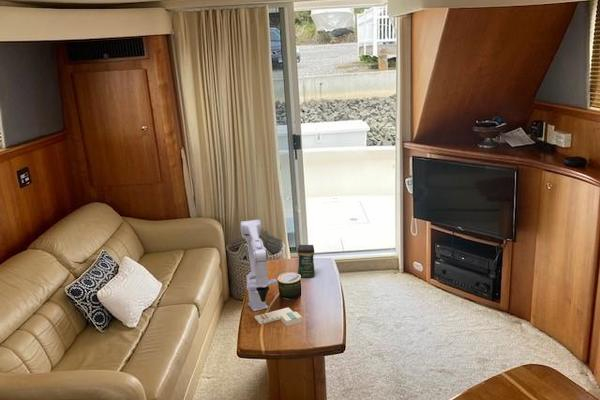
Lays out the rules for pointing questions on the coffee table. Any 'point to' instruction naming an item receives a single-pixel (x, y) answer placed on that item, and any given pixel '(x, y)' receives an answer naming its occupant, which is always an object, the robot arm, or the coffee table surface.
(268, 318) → the board
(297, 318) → the white and teal box
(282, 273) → the coffee table surface
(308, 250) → the coffee jar
